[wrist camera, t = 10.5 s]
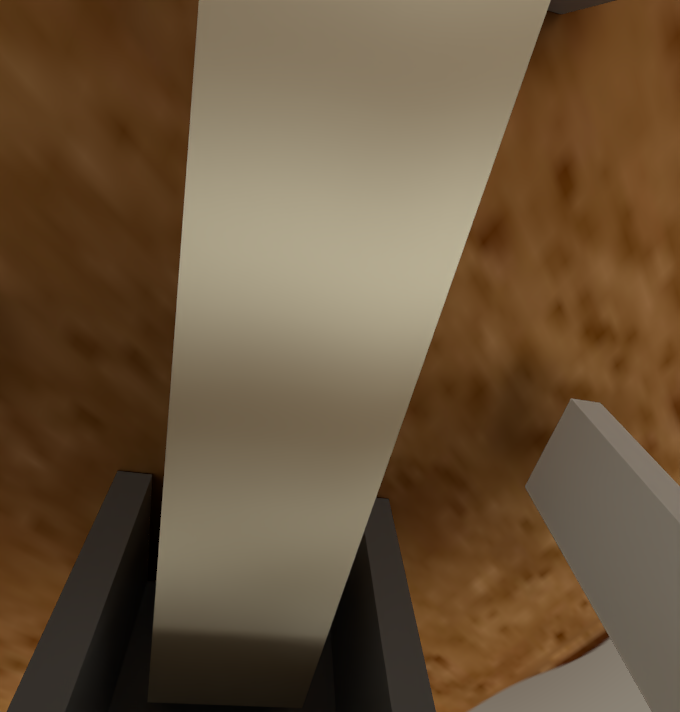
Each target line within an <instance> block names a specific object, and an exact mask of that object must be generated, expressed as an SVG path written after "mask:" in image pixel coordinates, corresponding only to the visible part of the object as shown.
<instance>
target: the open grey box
mask: <svg viewBox="0 0 680 712" xmlns="http://www.w3.org/2000/svg"><path fill="white" fill-rule="evenodd" d="M151 491H152V474H143V473H133V472H123V471H117V473H116V476H115V478H114V480H113V482H112V484H111V486H110V489H109V491H108V493H107V495H106V497H105V499H104V502H103V504H102V506H101V508H100V510H99V513H98V515H97V517H96V519H95V521H94V523H93V526H92V528H91V530H90V532H89V534H88V536H87V539H86V541H85V543H84V545H83V547H82V549H81V552H80V554H79V556H78V558H77V560H76V562H75V565H74V567H73V569H72V571H71V573H70V575H69V578H68V580H67V582H66V584H65V586H64V589H63V591H62V593H61V595H60V597H59V599H58V602H57V604H56V606H55V608H54V610H53V612H52V615H51V617H50V619H49V621H48V623H47V625H46V628H45V630H44V632H43V634H42V636H41V638H40V641H39V643H38V645H37V647H36V649H35V651H34V654H33V656H32V658H31V660H30V662H29V665H28V667H27V669H26V671H25V673H24V675H23V678H22V680H21V682H20V684H19V686H18V688H17V691H16V693H15V695H14V697H13V699H12V701H11V704H10V706H9V708H8V710H7V712H436V710H435V706H434V701H433V697H432V692H431V688H430V683H429V679H428V674H427V670H426V665H425V661H424V656H423V652H422V647H421V643H420V638H419V634H418V629H417V625H416V620H415V616H414V611H413V607H412V602H411V598H410V593H409V588H408V584H407V579H406V575H405V570H404V566H403V561H402V557H401V552H400V548H399V543H398V539H397V534H396V530H395V525H394V521H393V516H392V512H391V507H390V503H389V499H383V498H376V499H375V502H374V505H373V507H372V510H371V513H370V516H369V519H368V522H367V525H366V527H365V530H364V533H363V536H362V539H361V542H360V544H359V547H358V550H357V553H356V556H355V559H354V562H353V564H352V567H351V570H350V573H349V576H348V579H347V581H346V584H345V587H344V590H343V593H342V596H341V599H340V601H339V604H338V607H337V610H336V613H335V616H334V618H333V621H332V624H331V627H330V630H329V633H328V636H327V638H326V641H325V644H324V647H323V650H322V653H321V655H320V658H319V661H318V664H317V667H316V670H315V673H314V675H313V678H312V681H311V684H310V687H309V690H308V692H307V695H306V698H305V701H304V704H303V707H302V708H286V707H259V706H232V705H206V704H179V703H153V702H147V701H148V687H149V673H150V660H151V646H152V633H153V619H154V605H155V592H156V582H151V581H147V576H148V555H149V534H150V512H151Z"/></svg>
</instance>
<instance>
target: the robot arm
mask: <svg viewBox="0 0 680 712" xmlns="http://www.w3.org/2000/svg"><path fill="white" fill-rule="evenodd" d="M525 488H526V490H527V492H528V493H529V495H530V497H531V499H532V500H533V502H534V504H535V506H536V508H537V509H538V511H539V513H540V515H541V516H542V518H543V520H544V522H545V523H546V525H547V527H548V529H549V531H550V532H551V534H552V536H553V538H554V539H555V541H556V543H557V545H558V546H559V548H560V550H561V552H562V554H563V555H564V557H565V559H566V561H567V562H568V564H569V566H570V568H571V569H572V571H573V573H574V575H575V577H576V578H577V580H578V582H579V584H580V585H581V587H582V589H583V591H584V592H585V594H586V596H587V598H588V600H589V601H590V603H591V605H592V607H593V608H594V610H595V612H596V614H597V615H598V617H599V619H600V621H601V623H602V624H603V626H604V628H605V630H606V631H607V633H608V635H609V637H610V639H611V640H612V642H613V644H614V646H615V647H616V649H617V651H618V653H619V654H620V656H621V658H622V660H623V662H624V663H625V665H626V667H627V669H628V670H629V672H630V674H631V676H632V677H633V679H634V681H635V683H636V684H637V686H638V688H639V690H640V692H641V693H642V695H643V697H644V699H645V700H646V702H647V704H648V706H649V708H650V709H651V711H652V712H680V486H679V485H678V484H677V483H676V482H675V481H674V480H673V479H672V478H671V477H670V476H669V475H668V474H667V473H666V471H665V470H664V469H663V468H662V467H661V466H660V465H659V464H658V463H657V462H656V461H655V460H654V459H653V458H652V457H651V456H650V455H649V454H648V453H647V451H646V450H645V449H644V448H643V447H642V446H641V445H640V444H639V443H638V442H637V441H636V440H635V439H634V438H633V437H632V436H631V435H630V434H629V433H628V431H627V430H626V429H625V428H624V427H623V426H622V425H621V424H620V423H619V422H618V421H617V420H616V419H615V418H614V417H613V416H612V415H611V414H610V412H609V411H608V410H607V409H606V408H605V407H604V406H603V405H602V404H601V403H598V402H591V401H585V400H578V399H570V401H569V403H568V405H567V407H566V409H565V411H564V413H563V415H562V417H561V418H560V420H559V422H558V424H557V426H556V428H555V430H554V432H553V434H552V436H551V438H550V439H549V441H548V443H547V445H546V447H545V449H544V451H543V453H542V455H541V457H540V459H539V460H538V462H537V464H536V466H535V468H534V470H533V472H532V474H531V476H530V478H529V479H528V481H527V483H526V485H525Z"/></svg>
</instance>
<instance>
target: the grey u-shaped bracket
mask: <svg viewBox="0 0 680 712" xmlns="http://www.w3.org/2000/svg"><path fill="white" fill-rule="evenodd" d="M611 1H615V0H551V1H550V4H549V7H548V9H547V10H548V11H551V12H555V13H558V14H565V13H569V12H573V11H576V10H580V9H584V8H588V7H592V6H596V5H600V4H604V3H607V2H611Z"/></svg>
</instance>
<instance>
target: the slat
mask: <svg viewBox="0 0 680 712" xmlns="http://www.w3.org/2000/svg"><path fill="white" fill-rule="evenodd" d="M550 1H551V0H199V7H198V20H197V34H196V47H195V61H194V75H193V88H192V102H191V115H190V129H189V143H188V156H187V170H186V184H185V197H184V211H183V224H182V238H181V252H180V265H179V279H178V292H177V306H176V320H175V333H174V347H173V360H172V374H171V388H170V401H169V415H168V428H167V442H166V456H165V469H164V483H163V497H162V510H161V524H160V537H159V551H158V565H157V578H156V592H155V605H154V619H153V633H152V646H151V660H150V673H149V687H148V701H147V702H153V703H179V704H206V705H232V706H259V707H286V708H302V707H303V704H304V701H305V698H306V695H307V692H308V690H309V687H310V684H311V681H312V678H313V675H314V673H315V670H316V667H317V664H318V661H319V658H320V655H321V653H322V650H323V647H324V644H325V641H326V638H327V636H328V633H329V630H330V627H331V624H332V621H333V618H334V616H335V613H336V610H337V607H338V604H339V601H340V599H341V596H342V593H343V590H344V587H345V584H346V581H347V579H348V576H349V573H350V570H351V567H352V564H353V562H354V559H355V556H356V553H357V550H358V547H359V544H360V542H361V539H362V536H363V533H364V530H365V527H366V525H367V522H368V519H369V516H370V513H371V510H372V507H373V505H374V502H375V499H376V496H377V493H378V490H379V488H380V485H381V482H382V479H383V476H384V473H385V470H386V468H387V465H388V462H389V459H390V456H391V453H392V451H393V448H394V445H395V442H396V439H397V436H398V433H399V431H400V428H401V425H402V422H403V419H404V416H405V414H406V411H407V408H408V405H409V402H410V399H411V396H412V394H413V391H414V388H415V385H416V382H417V379H418V377H419V374H420V371H421V368H422V365H423V362H424V359H425V357H426V354H427V351H428V348H429V345H430V342H431V340H432V337H433V334H434V331H435V328H436V325H437V322H438V320H439V317H440V314H441V311H442V308H443V305H444V303H445V300H446V297H447V294H448V291H449V288H450V285H451V283H452V280H453V277H454V274H455V271H456V268H457V266H458V263H459V260H460V257H461V254H462V251H463V248H464V246H465V243H466V240H467V237H468V234H469V231H470V229H471V226H472V223H473V220H474V217H475V214H476V211H477V209H478V206H479V203H480V200H481V197H482V194H483V192H484V189H485V186H486V183H487V180H488V177H489V174H490V172H491V169H492V166H493V163H494V160H495V157H496V155H497V152H498V149H499V146H500V143H501V140H502V137H503V135H504V132H505V129H506V126H507V123H508V120H509V118H510V115H511V112H512V109H513V106H514V103H515V100H516V98H517V95H518V92H519V89H520V86H521V83H522V81H523V78H524V75H525V72H526V69H527V66H528V63H529V61H530V58H531V55H532V52H533V49H534V46H535V44H536V41H537V38H538V35H539V32H540V29H541V26H542V24H543V21H544V18H545V15H546V12H547V9H548V7H549V4H550Z"/></svg>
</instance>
